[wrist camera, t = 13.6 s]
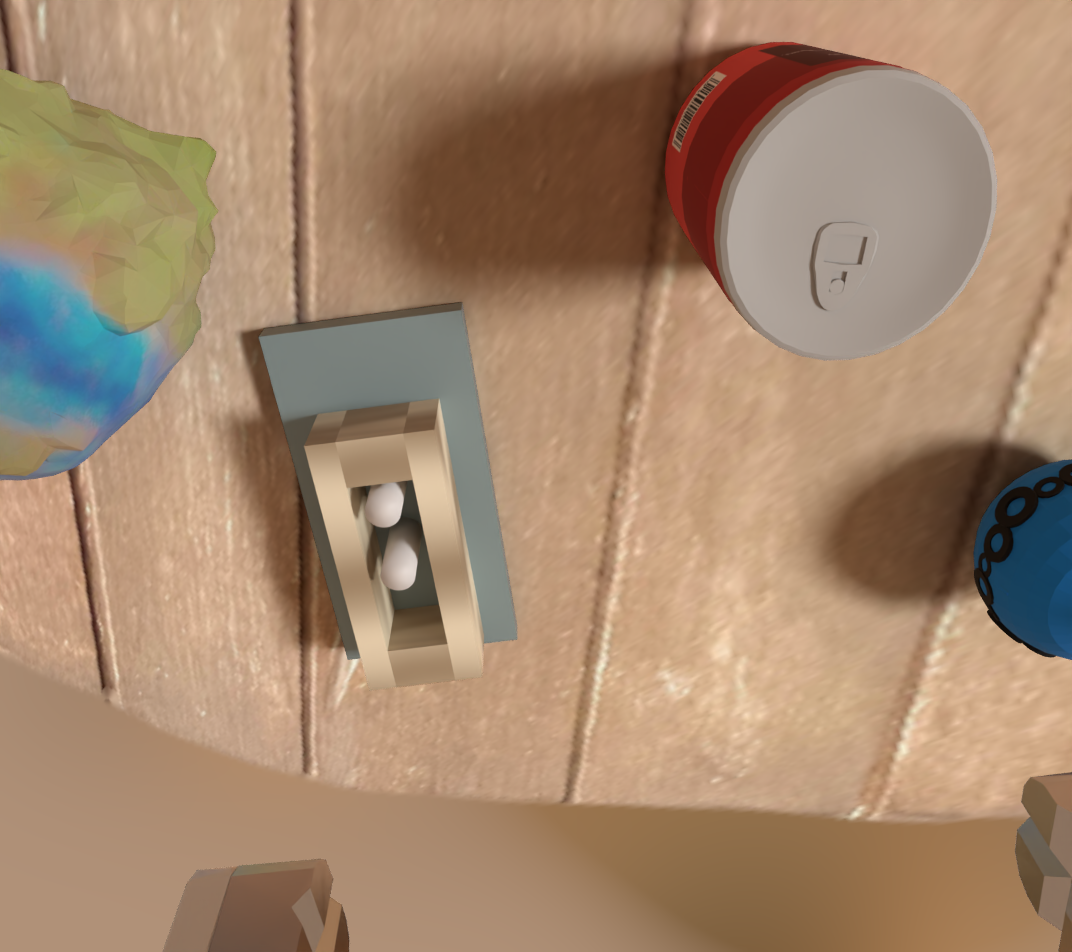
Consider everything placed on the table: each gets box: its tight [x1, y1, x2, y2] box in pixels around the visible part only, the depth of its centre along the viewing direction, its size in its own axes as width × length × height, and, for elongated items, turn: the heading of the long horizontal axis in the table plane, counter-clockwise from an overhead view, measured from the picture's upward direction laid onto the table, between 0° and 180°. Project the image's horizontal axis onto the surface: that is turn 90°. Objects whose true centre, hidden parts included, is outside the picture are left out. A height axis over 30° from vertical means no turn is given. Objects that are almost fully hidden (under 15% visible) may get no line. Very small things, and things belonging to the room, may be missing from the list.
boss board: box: [259, 302, 517, 660], centre depth 40 cm, size 16×8×4 cm, turn 7°
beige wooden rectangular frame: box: [304, 398, 484, 691], centre depth 40 cm, size 12×5×3 cm, turn 7°
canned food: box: [665, 42, 997, 360], centre depth 31 cm, size 8×8×11 cm
